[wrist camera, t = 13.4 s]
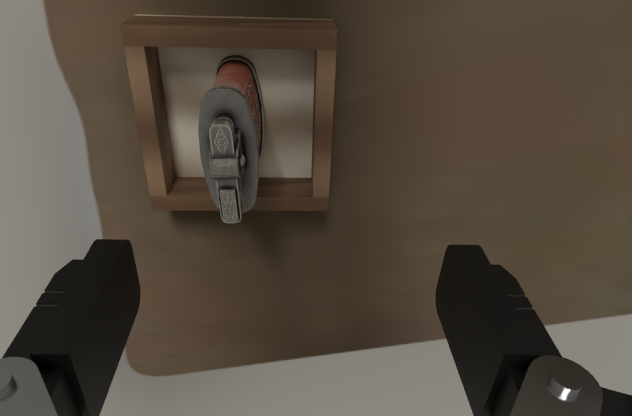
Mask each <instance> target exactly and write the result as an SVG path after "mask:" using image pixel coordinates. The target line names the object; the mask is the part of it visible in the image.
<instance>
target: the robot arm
mask: <svg viewBox="0 0 632 416" xmlns="http://www.w3.org/2000/svg"><path fill="white" fill-rule="evenodd" d="M139 304H140V284H139V279H138V274H137V269H136V264H135V259H134V254H133V249H132V245H131V243H130V241H129V240H109V239H101V240H100V239H97V240H95V241H94V242H93V244H92V246H91V247H90V249H89V251H88V253H87V254H86V256H85V258H84V260H72V261H70V262H69V263H68V264H67V265H65V266H64V267H63V268H61V269H60V270H59V271H58V272H57V273H55V274H54V276H53V278H52V279H51V281H50V282H49V284H48V286H47V287H46V289H45V293H43V294H42V295H41V297H40V298H39V300H38V301H37V303H36V307H34V308H33V310H32V311H31V313H30V314H29V316H28V317H27V319H26V321H25V322H24V324H23V325H22V327H21V329H20V331H19V332H18V333H17V335H16V337H15V338H14V340H13V342H12V343H11V345H10V346H9V348H8V349H7V351H6V353H5V354H4V356H3V357H2V359H0V416H99V414H100V412H101V409H102V406H103V404H104V401H105V399H106V396H107V393H108V390H109V388H110V385H111V382H112V379H113V377H114V374H115V371H116V369H117V366H118V363H119V361H120V357H121V355H122V352H123V350H124V347H125V344H126V342H127V339H128V336H129V334H130V331H131V328H132V326H133V323H134V320H135V317H136V315H137V312H138V309H139ZM436 309H437V313H438V316H439V319H440V322H441V324H442V327H443V330H444V333H445V336H446V339H447V341H448V344H449V347H450V350H451V353H452V355H453V358H454V361H455V364H456V367H457V369H458V372H459V375H460V378H461V381H462V384H463V386H464V390H465V392H466V395H467V398H468V401H469V404H470V406H471V409H472V412H473V415H474V416H632V396H631V395H628V394H624V393H620V392H616V391H612V390H609V389H606V388H602V387H600V386H599V384H598V382H597V381H596V379H595V378H594V377H593V376H592V375H591V374H590V373H589V372H588V371H587V370H585V369H584V368H583V367H582V366H580V365H579V364H577V363H575V362H573V361H571V360H569V359H566V358H563V357H562V356H561V354H560V353H559V351H558V349H557V348H556V346H555V344H554V343H553V341H552V339H551V337H550V336H549V334H548V332H547V331H546V329H545V327H544V326H543V324H542V322H541V320H540V319H539V317H538V315H537V314H536V312H535V310H532V305H531V304H530V302H529V300H528V298H527V297H525V293H524V292H523V290H522V288H521V287H520V285H519V283H518V282H517V280H516V278H515V277H513V276H512V275H511V274H510V273H509V272H508V271H506V270H505V269H504V268H503V267H502V266H501V265H491V264H490V262H489V260H488V259H487V257H486V255H485V253H484V251H483V249H482V248H481V247H480V246H479V245H449V246H448V247H447V249H446V252H445V256H444V260H443V264H442V268H441V272H440V276H439V280H438V284H437V288H436Z"/></svg>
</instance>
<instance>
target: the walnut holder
mask: <svg viewBox="0 0 632 416" xmlns="http://www.w3.org/2000/svg"><path fill="white" fill-rule="evenodd" d="M120 27H121V33H122V39H123V45H124V50H125V56H126V62H127V68H128V73H129V79H130V85H131V91H132V96H133V102H134V108H135V113H136V119H137V125H138V131H139V136H140V142H141V148H142V154H143V159H144V165H145V171H146V177H147V182H148V188H149V194H150V200H151V205H152V211H220V209H219V208H217V206H216V205H215V203H214V201H213V199H212V196H211V193H210V191H209V188H208V185H207V183H206V179H205V175H204V171H203V167H202V162H201V158H200V147H199V134H198V129H199V110H200V103H201V100H202V98H203V96H204V94H205V93H206V92H207V91H208V90H209V89H211V87H212V85H213V83H214V81H215V76H216V70H217V67H218V65H219V63H220V62H221V61H222V59H224V58H226V57H227V56H231V55H241V56H244V57H246V58H248V59H249V60H250V61H251V62H252V63H253V65H254V67H255V69H256V73H257V76H258V80H259V84H260V87H261V92H262V99H263V106H264V139H263V146H262V154H261V158H260V160H259V179H258V187H257V194H256V201H255V204H254V206H253V207H252V208H251V209H250V210H249V211H328V208H329V189H330V169H331V150H332V130H333V111H334V91H335V72H336V52H337V33H338V30H337V27H336V25H335V22H334V19H308V18H266V17H224V16H183V15H141V14H136V15H135V16H133V17H132V18H130V19H129V20H127V21H126V22H124V23H122V24H121V25H120Z"/></svg>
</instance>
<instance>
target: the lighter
mask: <svg viewBox="0 0 632 416" xmlns="http://www.w3.org/2000/svg"><path fill="white" fill-rule="evenodd" d="M198 134H199V147H200V158H201V162H202V167H203V171H204V175H205V179H206V183H207V185H208V188H209V191H210V193H211V196H212V199H213V201H214V203H215V205H216V206H217V208H219V209H220V214H221V219H222V221H223V222H225V223H238V222H240V220H241V217H242V213H245V212H247V211H249V210H250V209H251V208H252V207H253V206H254V204H255V201H256V194H257V187H258V179H259V160H260V158H261V154H262V146H263V139H264V106H263V99H262V92H261V87H260V84H259V80H258V76H257V73H256V69H255V67H254V65H253V63H252V62H251V61H250V60H249V59H248V58H246V57H244V56H241V55H231V56H227V57H226V58H224V59H222V61H221V62H220V63H219V65H218V67H217V70H216V76H215V81H214V83H213V85H212V87H211V89H209V90H208V91H207V92H206V93H205V94H204V96H203V98H202V100H201V103H200V110H199V129H198Z"/></svg>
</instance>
